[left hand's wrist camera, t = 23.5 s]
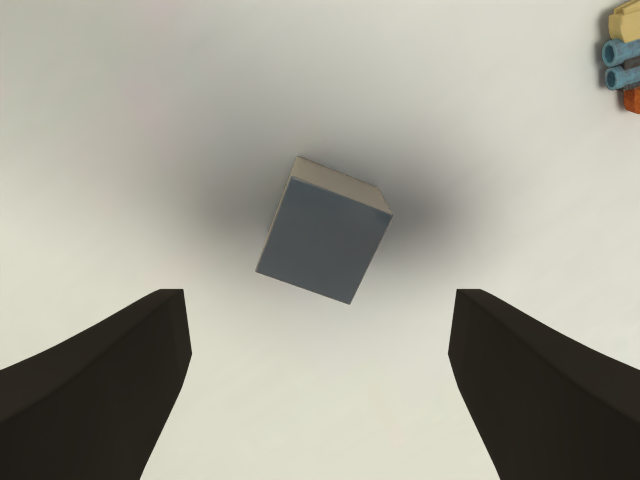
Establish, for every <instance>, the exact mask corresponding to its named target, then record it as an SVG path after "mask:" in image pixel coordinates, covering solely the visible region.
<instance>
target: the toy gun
mask: <svg viewBox="0 0 640 480" xmlns="http://www.w3.org/2000/svg"><path fill="white" fill-rule="evenodd" d="M609 33H610V37H611V38H612V40H609V41H607V42H606V43H605V44H604V46H603V48H602V58H603V61H604V63H605V65H607V66H608V67H609V68H608V69H607V70H606V72H605V84H606V86H607V87H608V89H609V90H615V89H616V90H619V91H624V106H625V108H626V110H628V111H631V112H634V113H637V114H640V0H631V1H629V2H627V3H625V4H623V5H621V6H619V7H617V8H614V14H612V15H610V16H609ZM612 66H613V67H612Z"/></svg>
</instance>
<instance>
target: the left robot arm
mask: <svg viewBox="0 0 640 480" xmlns="http://www.w3.org/2000/svg"><path fill="white" fill-rule="evenodd" d="M191 356H192V350H191V342H190V335H189V328H188V320H187V313H186V306H185V298H184V291H183V289H159V290H157V291H154V292H152V293H150V294H148V295H147V296H145V297H143V298H141V299H139V300H138V301H136V302H134V303H132V304H131V305H129V306H127V307H125V308H124V309H122V310H120V311H118V312H117V313H115V314H113V315H111V316H110V317H108V318H106V319H104V320H103V321H101V322H99V323H97V324H96V325H94V326H92V327H90V328H88V329H86V330H84V331H82V332H80V333H79V334H77V335H75V336H73V337H71V338H69V339H67V340H65V341H63V342H62V343H60V344H58V345H56V346H54V347H52V348H50V349H47V350H45V351H43V352H41V353H39V354H37V355H35V356H32V357H30V358H28V359H25V360H23V361H21V362H19V363H16V364H14V365H12V366H9V367H7V368H4V369H2V370H0V480H140V477H141V475H142V473H143V470H144V468H145V466H146V464H147V461H148V459H149V457H150V455H151V453H152V451H153V449H154V447H155V444H156V442H157V440H158V438H159V436H160V434H161V432H162V430H163V427H164V425H165V423H166V421H167V419H168V417H169V415H170V412H171V410H172V408H173V406H174V404H175V402H176V399H177V397H178V395H179V393H180V391H181V388H182V385H183V382H184V379H185V376H186V373H187V370H188V366H189V363H190V359H191ZM448 356H449V359H450V363H451V366H452V370H453V373H454V376H455V379H456V382H457V386H458V388H459V391H460V393H461V395H462V397H463V399H464V402H465V404H466V406H467V408H468V410H469V412H470V415H471V417H472V419H473V421H474V423H475V425H476V427H477V430H478V432H479V434H480V436H481V438H482V440H483V442H484V444H485V447H486V449H487V451H488V453H489V455H490V457H491V459H492V461H493V464H494V466H495V468H496V470H497V473H498V475H499V477H500V480H640V370H638V369H636V368H634V367H631V366H629V365H627V364H624V363H622V362H620V361H617V360H615V359H613V358H610V357H608V356H606V355H604V354H601V353H599V352H597V351H595V350H593V349H591V348H589V347H587V346H585V345H583V344H581V343H579V342H577V341H575V340H573V339H571V338H569V337H567V336H565V335H563V334H561V333H559V332H558V331H556V330H554V329H552V328H550V327H548V326H547V325H545V324H543V323H541V322H539V321H538V320H536V319H534V318H532V317H531V316H529V315H527V314H525V313H524V312H522V311H520V310H518V309H517V308H515V307H513V306H511V305H510V304H508V303H506V302H505V301H503V300H501V299H499V298H497V297H496V296H494V295H492V294H490V293H488V292H486V291H483V290H481V289H457V291H456V298H455V306H454V313H453V320H452V328H451V335H450V342H449V350H448Z"/></svg>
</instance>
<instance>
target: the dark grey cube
mask: <svg viewBox="0 0 640 480" xmlns="http://www.w3.org/2000/svg"><path fill="white" fill-rule="evenodd" d="M392 217H393V215H392V213H391V211H390V209H389V207H388V205H387V203H386V201H385V199H384V198H383V196H382V194H381V192H380V190H379V188H377V187H375V186H372V185H370V184H367V183H365V182H362V181H359V180H357V179H354V178H352V177H349V176H347V175H344V174H342V173H339V172H337V171H334V170H332V169H329V168H327V167H324V166H321V165H319V164H316V163H314V162H311V161H309V160H306V159H304V158H301V157H299V156H297V157H296V160H295V163H294V165H293V168H292V171H291V173H290V176H289V179H288V181H287V184H286V187H285V189H284V192H283V195H282V197H281V200H280V203H279V205H278V208H277V211H276V213H275V216H274V219H273V221H272V224H271V227H270V230H269V232H268V235H267V238H266V241H265V244H264V247H263V250H262V252H261V255H260V258H259V261H258V264H257V267H256V270H255V271H256V272H258V273H260V274H263V275H266V276H269V277H272V278H275V279H277V280H280V281H283V282H286V283H289V284H292V285H295V286H297V287H300V288H303V289H306V290H309V291H312V292H315V293H317V294H320V295H323V296H326V297H329V298H332V299H335V300H337V301H340V302H343V303H346V304H349V305H350V304H351V302H352V300H353V298H354V295H355V293H356V291H357V289H358V287H359V285H360V283H361V281H362V279H363V277H364V275H365V273H366V271H367V268H368V266H369V264H370V262H371V260H372V258H373V256H374V254H375V252H376V250H377V248H378V246H379V244H380V242H381V239H382V237H383V235H384V233H385V231H386V229H387V227H388V225H389V223H390V221H391V219H392Z"/></svg>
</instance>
